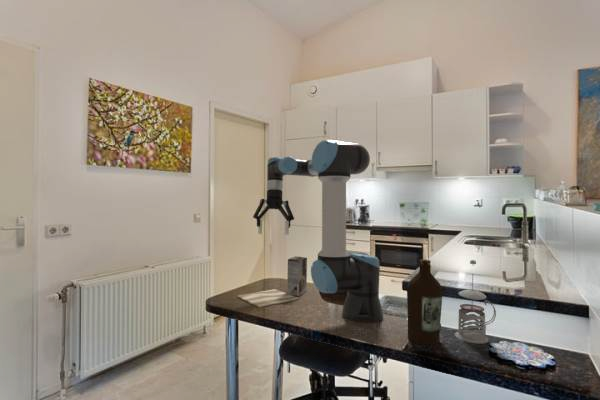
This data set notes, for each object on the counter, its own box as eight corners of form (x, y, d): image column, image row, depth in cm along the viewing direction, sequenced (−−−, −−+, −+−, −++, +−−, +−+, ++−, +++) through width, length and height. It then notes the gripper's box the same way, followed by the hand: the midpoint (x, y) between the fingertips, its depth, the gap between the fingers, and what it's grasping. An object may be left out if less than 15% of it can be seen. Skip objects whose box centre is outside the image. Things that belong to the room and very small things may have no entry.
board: (298, 299, 149) (298, 298, 149) (259, 307, 136) (259, 306, 136) (275, 290, 163) (275, 289, 163) (237, 297, 150) (237, 295, 150)
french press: (453, 329, 117) (455, 256, 117) (491, 334, 114) (493, 259, 114) (456, 340, 108) (457, 261, 108) (497, 346, 104) (499, 264, 104)
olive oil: (399, 334, 112) (401, 257, 112) (427, 331, 115) (428, 257, 115) (418, 347, 102) (420, 263, 102) (449, 344, 105) (450, 262, 105)
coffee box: (294, 289, 165) (295, 256, 165) (306, 291, 162) (307, 257, 162) (286, 294, 156) (287, 258, 156) (299, 296, 154) (300, 260, 154)
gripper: (294, 192, 174) (293, 234, 172) (247, 188, 163) (245, 233, 160) (301, 191, 168) (300, 234, 165) (252, 186, 156) (251, 233, 154)
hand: (273, 234), depth 163 cm, fingers open, 13 cm apart
